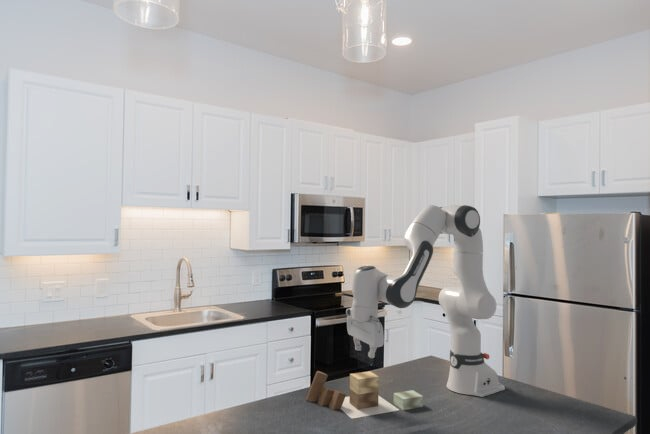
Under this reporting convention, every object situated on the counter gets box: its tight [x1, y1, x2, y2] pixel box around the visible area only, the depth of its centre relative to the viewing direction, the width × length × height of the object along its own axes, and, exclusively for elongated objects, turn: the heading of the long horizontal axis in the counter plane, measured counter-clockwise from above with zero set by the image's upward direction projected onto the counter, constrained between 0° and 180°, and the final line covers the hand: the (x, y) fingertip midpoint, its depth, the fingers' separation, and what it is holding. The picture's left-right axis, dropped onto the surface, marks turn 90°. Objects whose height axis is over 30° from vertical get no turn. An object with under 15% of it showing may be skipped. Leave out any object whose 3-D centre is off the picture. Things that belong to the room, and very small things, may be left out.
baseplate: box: [339, 395, 400, 420], centre depth 154 cm, size 18×17×1 cm
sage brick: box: [392, 389, 424, 411], centre depth 154 cm, size 8×6×5 cm
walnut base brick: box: [349, 388, 380, 410], centre depth 154 cm, size 8×6×5 cm
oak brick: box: [349, 370, 380, 394], centre depth 154 cm, size 8×6×5 cm
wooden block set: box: [305, 370, 347, 411], centre depth 157 cm, size 18×9×10 cm, turn 30°
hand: (364, 353), depth 154 cm, fingers open, 8 cm apart
